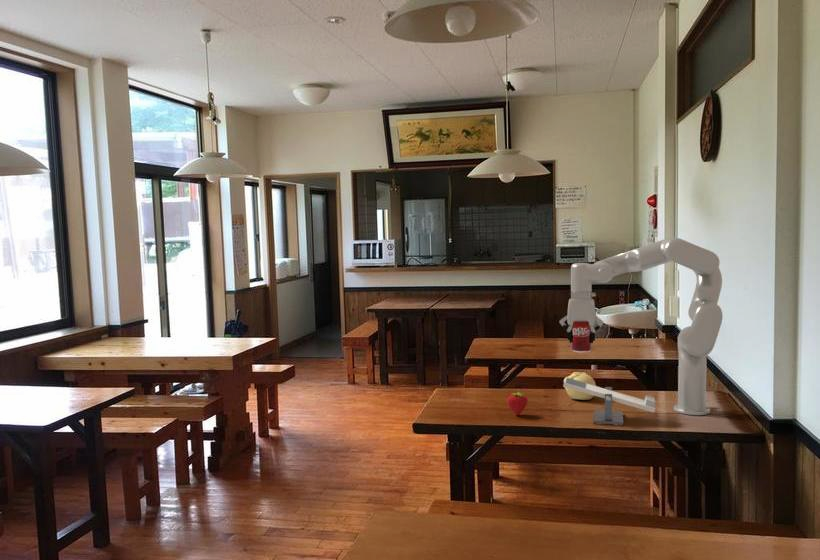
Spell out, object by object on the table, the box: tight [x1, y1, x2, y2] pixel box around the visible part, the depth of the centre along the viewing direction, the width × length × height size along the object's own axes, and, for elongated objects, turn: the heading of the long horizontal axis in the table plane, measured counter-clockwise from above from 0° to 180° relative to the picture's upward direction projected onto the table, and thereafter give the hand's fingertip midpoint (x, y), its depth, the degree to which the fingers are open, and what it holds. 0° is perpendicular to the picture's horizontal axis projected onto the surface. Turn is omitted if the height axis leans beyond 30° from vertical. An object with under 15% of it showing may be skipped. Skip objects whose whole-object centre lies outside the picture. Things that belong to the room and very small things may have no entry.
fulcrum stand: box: [593, 386, 624, 426], centre depth 242 cm, size 10×14×10 cm
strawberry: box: [506, 388, 528, 416], centre depth 250 cm, size 6×8×10 cm
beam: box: [562, 377, 657, 414], centre depth 242 cm, size 32×8×4 cm, turn 74°
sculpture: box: [563, 371, 597, 401], centre depth 271 cm, size 11×12×11 cm
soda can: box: [571, 320, 592, 354], centre depth 255 cm, size 7×7×12 cm
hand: (581, 342), depth 255 cm, fingers closed on soda can, 7 cm apart
